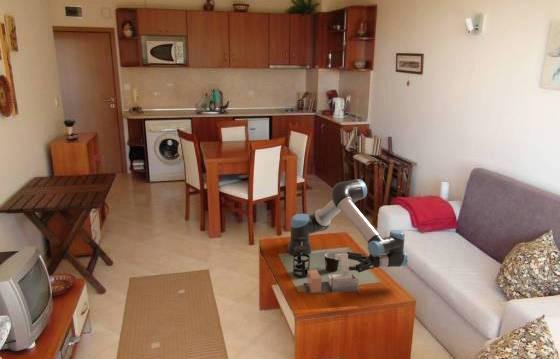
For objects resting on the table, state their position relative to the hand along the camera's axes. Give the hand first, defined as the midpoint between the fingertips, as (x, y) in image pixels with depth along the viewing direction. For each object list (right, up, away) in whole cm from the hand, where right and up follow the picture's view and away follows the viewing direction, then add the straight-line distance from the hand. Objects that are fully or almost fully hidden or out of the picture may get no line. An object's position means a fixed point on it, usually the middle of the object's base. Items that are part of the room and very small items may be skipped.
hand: (338, 262), depth 232 cm
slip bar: (+1, -11, +3) cm, 12 cm away
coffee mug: (-1, -9, +25) cm, 27 cm away
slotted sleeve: (-4, -15, +3) cm, 15 cm away
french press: (-19, -11, +18) cm, 28 cm away
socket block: (-13, -13, +1) cm, 19 cm away
